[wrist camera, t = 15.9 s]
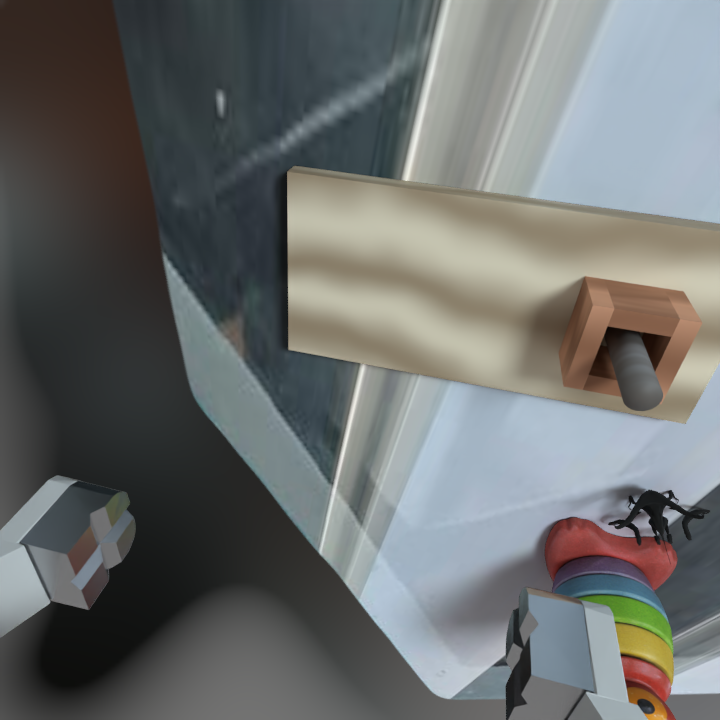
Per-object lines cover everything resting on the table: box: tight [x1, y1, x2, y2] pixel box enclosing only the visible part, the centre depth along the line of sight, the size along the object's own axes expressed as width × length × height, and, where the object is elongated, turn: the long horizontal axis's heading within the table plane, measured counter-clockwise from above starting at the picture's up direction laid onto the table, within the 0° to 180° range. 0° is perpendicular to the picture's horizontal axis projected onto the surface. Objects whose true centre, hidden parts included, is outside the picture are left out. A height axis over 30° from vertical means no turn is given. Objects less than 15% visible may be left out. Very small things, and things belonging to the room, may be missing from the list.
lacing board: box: [287, 166, 720, 424], centre depth 34 cm, size 14×30×10 cm, turn 86°
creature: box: [608, 490, 710, 564], centre depth 44 cm, size 8×5×8 cm
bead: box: [559, 276, 702, 404], centre depth 34 cm, size 6×6×4 cm
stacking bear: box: [545, 517, 677, 720], centre depth 44 cm, size 11×10×18 cm
